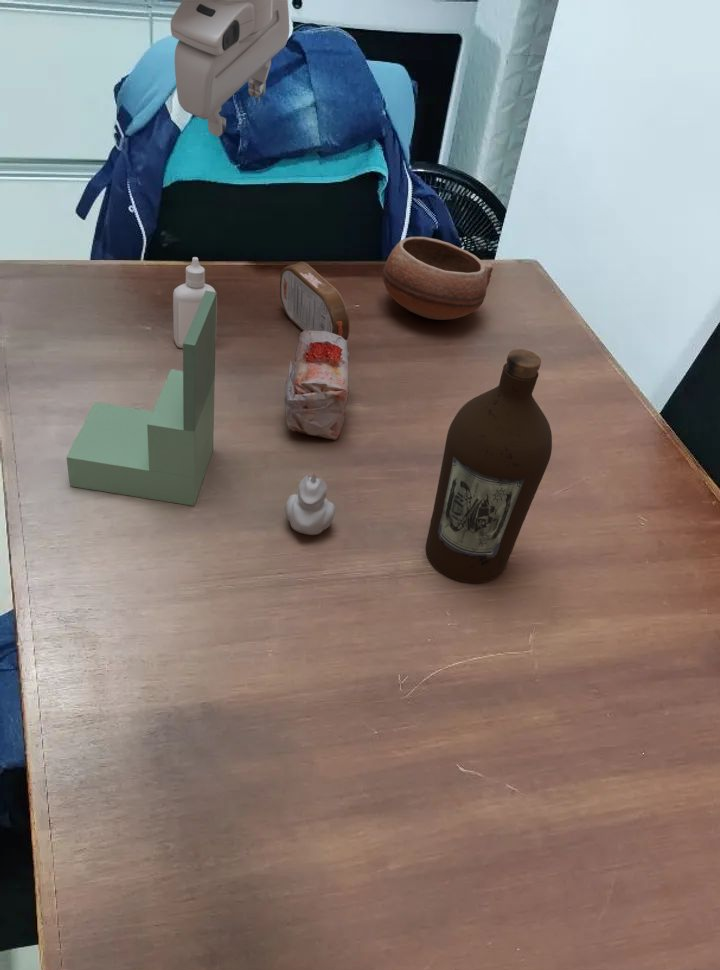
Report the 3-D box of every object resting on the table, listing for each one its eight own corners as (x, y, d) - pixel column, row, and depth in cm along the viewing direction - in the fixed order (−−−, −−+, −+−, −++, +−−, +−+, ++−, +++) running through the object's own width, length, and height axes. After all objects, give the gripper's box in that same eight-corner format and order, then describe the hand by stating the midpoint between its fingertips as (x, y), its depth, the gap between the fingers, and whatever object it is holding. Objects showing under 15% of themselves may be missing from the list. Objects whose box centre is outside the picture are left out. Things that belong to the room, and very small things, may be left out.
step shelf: (69, 486, 102) (49, 320, 87) (97, 430, 110) (83, 269, 95) (194, 506, 103) (195, 345, 88) (213, 449, 110) (216, 292, 96)
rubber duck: (278, 537, 101) (283, 479, 95) (292, 501, 106) (298, 444, 100) (325, 548, 101) (334, 491, 95) (338, 512, 105) (346, 455, 100)
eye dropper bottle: (210, 355, 124) (212, 270, 115) (170, 347, 124) (168, 261, 115) (218, 339, 127) (221, 255, 118) (179, 331, 127) (178, 246, 118)
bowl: (498, 319, 142) (514, 256, 135) (437, 350, 133) (451, 285, 126) (420, 278, 148) (432, 216, 141) (357, 305, 139) (366, 240, 132)
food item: (345, 447, 114) (355, 378, 107) (281, 441, 113) (287, 371, 106) (344, 387, 123) (353, 320, 116) (285, 381, 122) (291, 312, 115)
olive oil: (434, 513, 108) (484, 316, 89) (520, 542, 106) (589, 348, 88) (407, 568, 100) (456, 366, 82) (499, 600, 99) (569, 402, 81)
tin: (347, 357, 129) (355, 300, 122) (328, 361, 127) (335, 304, 121) (292, 306, 136) (296, 250, 130) (273, 309, 135) (277, 253, 129)
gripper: (258, -52, 110) (259, 64, 122) (160, 28, 101) (172, 144, 113) (303, -33, 109) (299, 82, 121) (209, 49, 100) (215, 164, 113)
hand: (237, 113), depth 117 cm, fingers open, 8 cm apart
